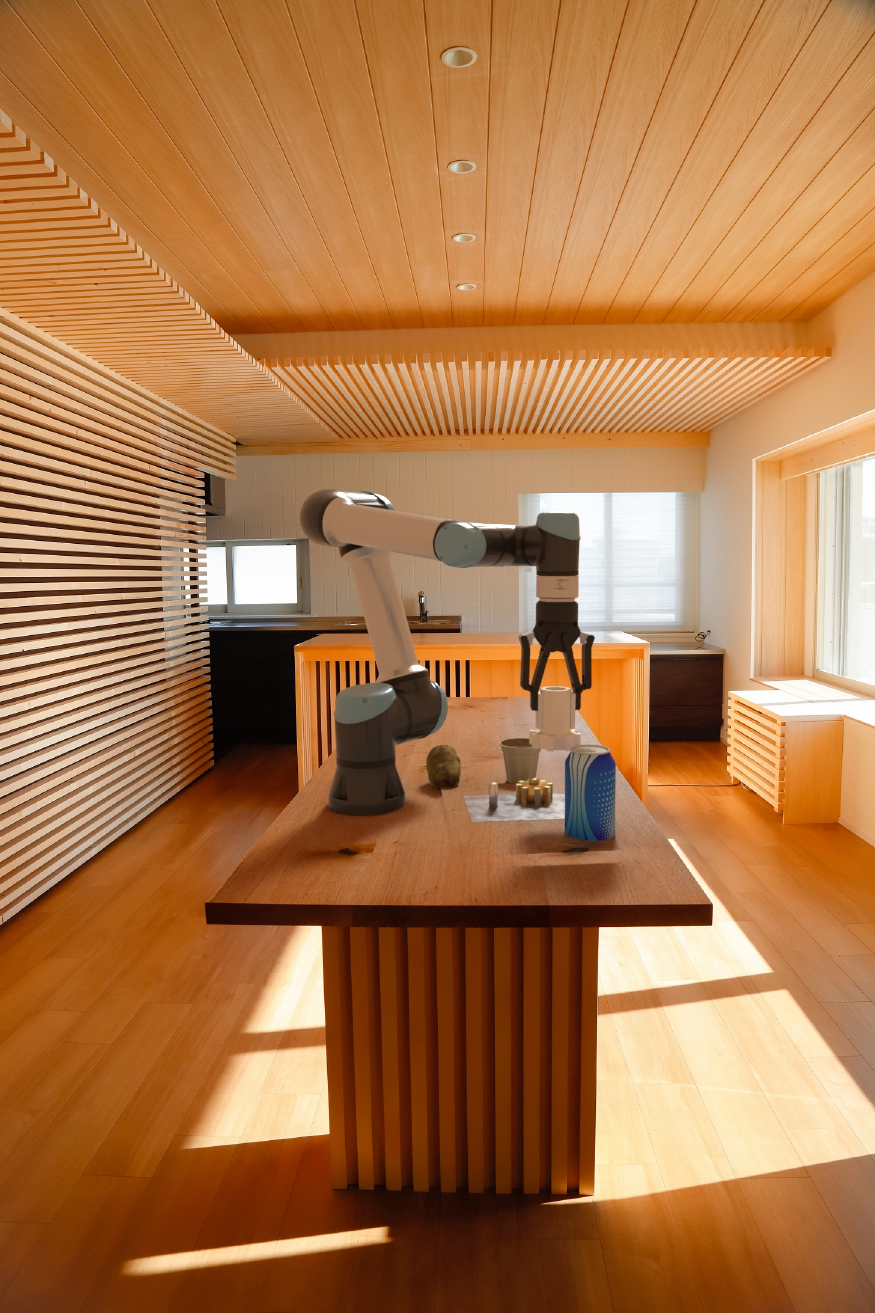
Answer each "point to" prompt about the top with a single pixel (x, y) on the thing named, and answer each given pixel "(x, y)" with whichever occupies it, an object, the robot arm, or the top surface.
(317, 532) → the robot arm
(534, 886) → the top surface
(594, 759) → the beer can
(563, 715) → the planet gear
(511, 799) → the plate
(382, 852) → the top surface
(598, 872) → the top surface
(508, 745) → the flower pot
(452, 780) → the potato
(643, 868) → the top surface
